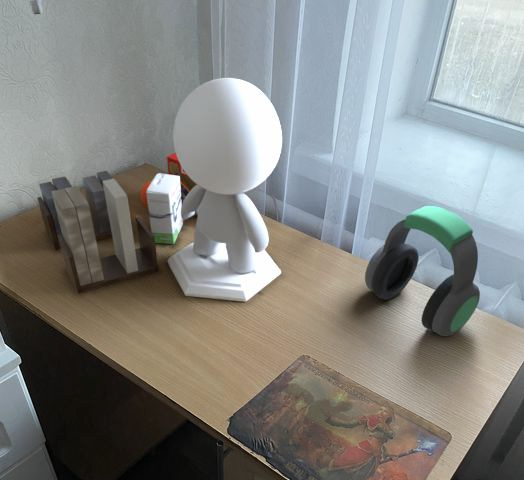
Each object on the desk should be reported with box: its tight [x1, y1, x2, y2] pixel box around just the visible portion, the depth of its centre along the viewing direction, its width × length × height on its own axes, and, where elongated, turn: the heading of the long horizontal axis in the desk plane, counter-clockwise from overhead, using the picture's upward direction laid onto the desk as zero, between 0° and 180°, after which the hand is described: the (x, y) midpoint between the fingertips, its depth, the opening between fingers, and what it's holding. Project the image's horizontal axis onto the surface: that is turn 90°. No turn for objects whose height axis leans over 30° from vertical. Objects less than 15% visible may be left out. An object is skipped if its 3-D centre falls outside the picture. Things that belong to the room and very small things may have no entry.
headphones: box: [364, 205, 481, 337], centre depth 93 cm, size 19×11×20 cm, turn 40°
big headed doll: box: [167, 77, 283, 303], centre depth 95 cm, size 20×23×35 cm
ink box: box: [146, 172, 184, 245], centre depth 112 cm, size 9×5×12 cm, turn 173°
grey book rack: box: [36, 170, 114, 251], centre depth 111 cm, size 16×8×12 cm, turn 120°
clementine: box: [140, 177, 155, 209], centre depth 121 cm, size 8×7×7 cm
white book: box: [103, 178, 138, 273], centre depth 100 cm, size 2×7×16 cm, turn 30°
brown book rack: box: [51, 185, 159, 294], centre depth 100 cm, size 16×8×17 cm, turn 120°
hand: (9, 15), depth 92 cm, fingers open, 8 cm apart
